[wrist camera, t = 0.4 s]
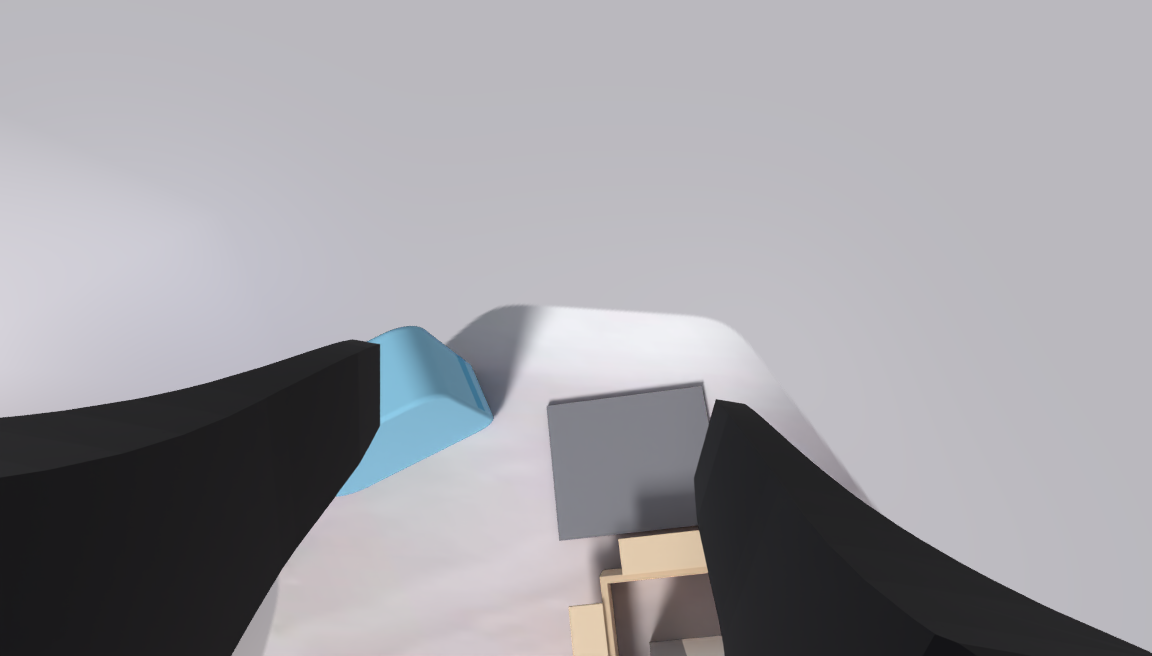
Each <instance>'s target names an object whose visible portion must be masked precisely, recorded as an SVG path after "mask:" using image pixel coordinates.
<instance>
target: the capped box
mask: <svg viewBox="0 0 1152 656" xmlns="http://www.w3.org/2000/svg"><path fill="white" fill-rule="evenodd" d="M650 652H651V656H724V647H723V641H722V636H711V637H701V638H691V639H680V640H670V641H660V642H650Z"/></svg>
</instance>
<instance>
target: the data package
mask: <svg viewBox="0 0 1152 656" xmlns="http://www.w3.org/2000/svg"><path fill="white" fill-rule="evenodd" d="M367 342H370V343H376V344H380V427H379V429H378V431H377V433H376V435H375V437H374V439H373V440H372V442H371V444H370V446H369V448H368V450H367V452H366V453H365V455H364V457H363V459H362V460H361V462H360V464H359V465H358V467H357V468H356V469H355V471H354V472H353V473H352V475H351V476H350V478H349V479H348V480H347V482H346V483H345V484H344V486H343V487H342V488H341V490H340V491H339V492H338V494H337V495H336V496H344V495H348V494H351V493H354V492H357V491H360V490H362V489H364V488H367V487H369V486H371V485H373V484H375V483H377V482H379V481H381V480H383V479H385V478H387V477H389V476H391V475H393V474H395V473H397V472H399V471H401V470H403V469H405V468H407V467H409V466H411V465H413V464H415V463H417V462H419V461H421V460H423V459H425V458H427V457H429V456H431V455H433V454H435V453H437V452H439V451H441V450H443V449H445V448H447V447H449V446H451V445H453V444H455V443H457V442H459V441H461V440H463V439H465V438H467V437H469V436H471V435H473V434H475V433H477V432H479V431H481V430H482V429H484V428H485V427H487V426H488V425H489V424H490V423H491V422H492V421H493V415H492V413H491V411H490V408H489V406H488V404H487V401H486V399H485V397H484V394H483V392H482V390H481V387H480V385H479V383H478V380H477V378H476V376H475V373H474V371H473V369H472V366H471V365H470V364H469V363H467V362H466V361H465V360H463V359H462V358H461V357H460V356H458V355H457V354H456V353H454V352H453V351H452V350H450V349H449V348H448V347H447V346H445V345H444V344H442V343H441V342H440V341H439V340H437V339H436V338H435V337H434V336H432V335H431V334H430V333H428V332H427V331H426V330H425V329H423V328H421V327H417V326H406V327H401V328H396V329H393V330H390V331H388V332H386V333H383V334H381V335H379V336H378V337H375V338H373V339H371V340H369V341H367Z"/></svg>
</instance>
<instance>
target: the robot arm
mask: <svg viewBox="0 0 1152 656" xmlns="http://www.w3.org/2000/svg"><path fill="white" fill-rule="evenodd" d="M379 427H380V344H376V343H370V342H364V341H358V340H348V341H342V342H338V343H335V344H331V345H328V346H325V347H321V348H319V349H315V350H312V351H309V352H306V353H303V354H300V355H297V356H294V357H291V358H288V359H285V360H282V361H279V362H276V363H273V364H270V365H267V366H264V367H260V368H257V369H253V370H250V371H247V372H243V373H240V374H237V375H233V376H230V377H226V378H223V379H220V380H216V381H213V382H209V383H205V384H202V385H198V386H193V387H190V388H185V389H181V390H177V391H172V392H168V393H163V394H158V395H154V396H149V397H144V398H139V399H134V400H128V401H121V402H115V403H110V404H103V405H97V406H90V407H84V408H78V409H72V410H66V411H58V412H50V413H41V414H32V415H24V416H15V417H3V418H0V656H231V655H232V653H233V652H234V649H235V648H236V646H237V645H238V643H239V641H240V639H241V637H242V636H243V634H244V632H245V630H246V629H247V627H248V625H249V623H250V622H251V620H252V618H253V616H254V615H255V613H256V611H257V610H258V608H259V606H260V605H261V603H262V601H263V600H264V598H265V596H266V595H267V593H268V592H269V590H270V588H271V586H272V585H273V583H274V581H275V580H276V578H277V577H278V575H279V573H280V572H281V570H282V568H283V567H284V565H285V564H286V563H287V561H288V560H289V558H290V557H291V555H292V554H293V552H294V551H295V550H296V548H297V547H298V545H299V544H300V543H301V541H302V540H303V539H304V537H305V536H306V535H307V533H308V532H309V531H310V529H311V528H312V527H313V526H314V524H315V523H316V522H317V520H318V519H319V518H320V516H321V515H322V514H323V512H324V511H325V510H326V508H327V507H328V506H329V504H330V503H331V502H332V500H333V499H334V498H335V496H336V495H337V494H338V492H339V491H340V490H341V488H342V487H343V486H344V484H345V483H346V482H347V480H348V479H349V478H350V476H351V475H352V473H353V472H354V471H355V469H356V468H357V467H358V465H359V464H360V462H361V460H362V459H363V457H364V455H365V453H366V452H367V450H368V448H369V446H370V444H371V442H372V440H373V439H374V437H375V435H376V433H377V431H378V429H379ZM694 489H695V503H696V515H697V523H698V528H699V532H700V537H701V542H702V546H703V551H704V556H705V560H706V565H707V569H708V574H709V578H710V583H711V587H712V592H713V596H714V601H715V605H716V610H717V614H718V619H719V624H720V629H721V635H722V641H723V647H724V656H1152V653H1150V652H1149V651H1146V650H1144V649H1142V648H1140V647H1137V646H1135V645H1133V644H1130V643H1128V642H1126V641H1124V640H1121V639H1119V638H1116V637H1114V636H1112V635H1110V634H1108V633H1105V632H1103V631H1101V630H1098V629H1096V628H1094V627H1091V626H1089V625H1087V624H1085V623H1082V622H1080V621H1078V620H1075V619H1073V618H1071V617H1069V616H1066V615H1064V614H1062V613H1059V612H1057V611H1055V610H1053V609H1050V608H1048V607H1046V606H1044V605H1042V604H1040V603H1038V602H1035V601H1034V600H1032V599H1030V598H1028V597H1026V596H1024V595H1022V594H1020V593H1018V592H1016V591H1014V590H1012V589H1010V588H1008V587H1006V586H1004V585H1002V584H1000V583H997V582H996V581H993V580H992V579H990V578H988V577H986V576H984V575H982V574H980V573H978V572H977V571H975V570H973V569H971V568H969V567H967V566H965V565H963V564H961V563H960V562H958V561H956V560H955V559H953V558H951V557H949V556H948V555H946V554H944V553H943V552H941V551H939V550H937V549H936V548H934V547H932V546H931V545H929V544H927V543H925V542H923V541H922V540H920V539H919V538H917V537H915V536H914V535H912V534H911V533H909V532H907V531H906V530H904V529H902V528H901V527H899V526H898V525H896V524H895V523H894V522H892V521H891V520H889V519H888V518H886V517H885V516H883V515H882V514H880V513H879V512H877V511H876V510H874V509H873V508H871V507H870V506H868V505H867V504H866V503H864V502H863V501H861V500H860V499H859V498H857V497H856V496H855V495H853V494H852V493H850V492H849V491H848V490H847V489H845V488H844V487H843V486H842V485H840V484H839V483H838V482H836V481H835V480H834V479H833V478H831V477H830V476H829V475H828V474H826V473H825V472H824V471H823V470H821V469H820V468H819V467H818V466H817V465H815V464H814V463H813V462H812V461H811V460H809V459H808V458H807V457H806V456H805V455H804V454H802V453H801V452H800V451H799V450H798V449H797V448H796V447H794V446H793V445H792V444H791V443H790V442H789V441H788V440H787V439H785V438H784V437H783V436H782V435H781V434H780V433H779V432H778V431H777V430H775V429H774V428H773V427H772V426H771V425H770V424H769V423H768V422H766V421H765V420H764V419H763V418H762V417H761V416H760V415H758V414H757V413H756V412H755V411H754V410H752V409H751V408H750V407H748V406H747V405H746V404H742V403H735V402H729V401H723V400H717V399H716V401H715V404H714V408H713V411H712V415H711V419H710V422H709V426H708V429H707V433H706V436H705V440H704V444H703V447H702V451H701V454H700V458H699V461H698V465H697V469H696V472H695V476H694Z"/></svg>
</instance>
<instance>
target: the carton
mask: <svg viewBox="0 0 1152 656" xmlns="http://www.w3.org/2000/svg"><path fill="white" fill-rule="evenodd" d="M618 542H619V550H620V558H621V565H622V568H619V569H609V570H603V571H602V573H601V575H600V585H601V593H602V602H603V603H596V604H586V605H576V606H569V617H570V628H571V638H572V649H573V656H619V651H618V643H617V635H616V626H615V618H614V609H613V601H612V592H611V584H610V583H618V582H628V581H637V580H647V579H656V578H666V577H675V576H685V575H694V574H704V573H708V569H707V565H706V560H705V556H704V551H703V546H702V542H701V537H700V532H699V530H694V531H685V532H676V533H667V534H658V535H649V536H640V537H631V538H622V539H618Z"/></svg>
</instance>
